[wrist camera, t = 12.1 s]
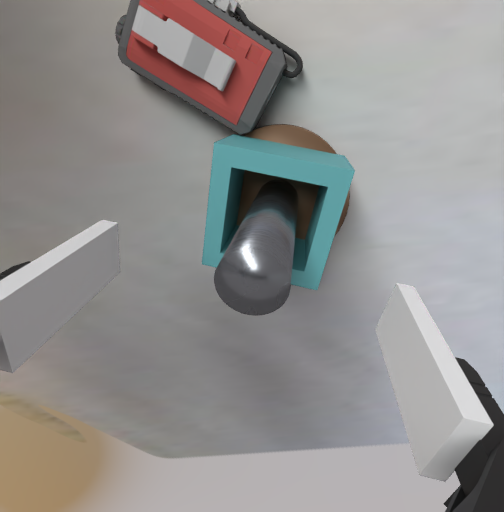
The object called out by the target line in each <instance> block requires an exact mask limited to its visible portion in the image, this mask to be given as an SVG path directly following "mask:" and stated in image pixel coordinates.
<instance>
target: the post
mask: <svg viewBox="0 0 504 512" xmlns="http://www.w3.org/2000/svg"><path fill="white" fill-rule="evenodd" d="M297 212H298V194H297V191H296V189H295V188H294V187H293V186H292V185H291V184H290V183H288V182H287V181H284V180H279V179H276V180H271V181H268V182H267V183H265V184H264V185H263V186H262V187H261V188H260V190H259V192H258V194H257V195H256V197H255V199H254V201H253V203H252V204H251V206H250V208H249V210H248V212H247V214H246V215H245V217H244V219H243V221H242V223H241V224H240V226H239V228H238V230H237V232H236V233H235V235H234V237H233V239H232V241H231V243H230V244H229V246H228V248H227V250H226V252H225V253H224V255H223V257H222V259H221V261H220V262H219V264H218V266H217V268H216V271H215V275H214V282H215V287H216V290H217V293H218V294H219V296H220V298H221V299H222V300H223V301H224V302H225V303H226V304H227V305H228V306H229V307H231V308H232V309H234V310H236V311H238V312H240V313H243V314H247V315H265V314H269V313H271V312H273V311H275V310H277V309H278V308H280V307H281V306H282V305H283V304H284V303H285V301H286V300H287V298H288V296H289V293H290V286H291V276H292V265H293V254H294V244H295V233H296V222H297Z"/></svg>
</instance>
